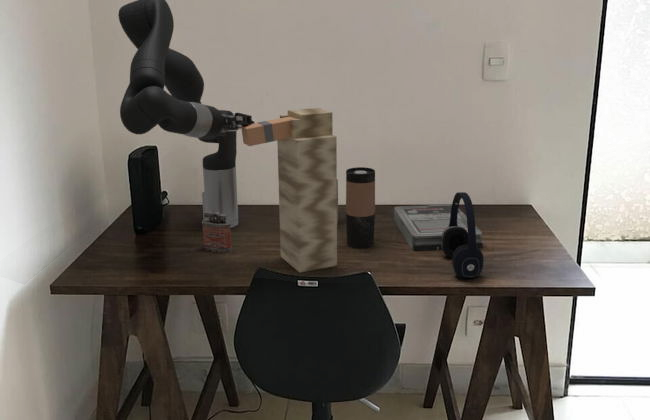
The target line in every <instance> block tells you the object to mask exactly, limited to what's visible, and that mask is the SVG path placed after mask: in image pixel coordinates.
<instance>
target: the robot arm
mask: <svg viewBox="0 0 650 420" xmlns="http://www.w3.org/2000/svg"><path fill="white" fill-rule="evenodd" d="M118 21H119V23H120V26H121V28H122V30H123V32H124V34H125V35H126V36H127V38H128V39H129V41H130V42H131V43H132V44H133V45H134V47H135V48H136V49H137V50H136V52H135V54H134V56H133V58H132V60H131V63H130V68H129V70H130V71H129V82H128V83H129V84H128V85H127V88H126V90H125V92H124V95H123V98H122V101H121V103H120V108H119V115H120V120H121V123H122V124H123V126H124V128H125V129H126V130H127V131H128V132H130V133H131V134H135V135H144V134H146V133H149V132H150V131H152V129H154V128H155V127H156V126H157V125H158V126H159V127H160V128H161V129H162V130H163V131H165V132H168V133H173V134H178V135H182V136H185V137H190V138H196V139H198V140H199V141H201V142H203V143H206V144H207V143H209V144H218V150H217V151H216V152H213V153H210V154H207V155H205V156H203V158H202V173H203V175H202V177H203V189H204V191H203V192H202V193H201V199H202V200H201V201H202V202H201V203H202V215H203V216H202V217H203V220H209V218H205V217H204V213H205V212H212V213H216V212H220V214H225V215H226V221H228V222H231V226H230V229H232V228H235V227H237V226H238V225H239V208H238V207H239V204H238V188H237V187H238V185H237V169H236V168H237V167H236V165H237V164H236V163H237V161H236V160H237V154H238V153H237V132H238V131H239V130H242V129H241V126H249V125H251V124H254V123H255V121H254V120H252V119H253V117H252V115H250V114H245V113H242V112H241V113H240V112H235V113H233V112H232V111H231V110H224V109H220V110H219V109H218V108H216V107H215V106H211V105H208V104H203V103H202V102H201V100H202V97H203V93H204V90H205V82H204V77H203V76H202V74H201V72H200V71H199V68H198V67H197V65H196V64H195V63H194V61H193V60H192V59H191V58H189V57H188V56H186V55H185V54H183V53H182V52H179V51H177V50H174V49H173V48H170V45H171V41H172V38H173V33H174V28H175V27H174V26H175V24H174V16H173V13H172V9H171V8H170V5H169V4H168V2H167V0H134V1H132V2H131V1H130V2H129V3H126V4H125V5H123V6H121V7H120V8H119V10H118ZM165 88H166V90H167V91H168V92H167V91H166V90H165ZM212 220H213V218H212Z"/></svg>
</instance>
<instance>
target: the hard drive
mask: <svg viewBox="0 0 650 420" xmlns="http://www.w3.org/2000/svg"><path fill="white" fill-rule="evenodd" d="M451 207H452V203H451V204H432V205H431V204H430V205H429V204H427V205H399V206H396V205H395V206H394V208H393V209H394V210H393V213H394V214H393V221H395V222H394V224H395V225H396V226H397V228H398V229H399V231H400V233H401V234H402V236H403V237H404V239H405V241H406V242H407V243H408V246H409V247H410V249H411V250H412V251H413V252H421V251H422V252H423V250H427V251H443V250H442V247H441V237H442V233H443V231H444V230H445V229H446V228H447V227H449V223H450V215H451ZM457 225H458V226H460V227H463V228H464V229H465V230H466V231H467V232H468V227H467V216H466V213H464V211H462V210H461V209H460V207H459V208H458V215H457ZM475 228H476V246H477V247H478V248H479V249H483V242H482V241H483V240H482V237H483V231H482V230H480V228H479V227H477V225H475Z"/></svg>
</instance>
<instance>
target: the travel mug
mask: <svg viewBox="0 0 650 420" xmlns="http://www.w3.org/2000/svg"><path fill="white" fill-rule="evenodd" d="M345 174H346V175H345V180H346V181H345V225H346V227H345V228H346V244H347V246H348V247H351V248H355V249H367V248H370V247H373V245H374V242H375V225H376V224H375V223H376V222H375V220H376V171H375V169H374V168H371V167H361V166H358V167H357V166H356V167H350V168H347V169H346V171H345Z"/></svg>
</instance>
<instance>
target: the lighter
mask: <svg viewBox="0 0 650 420" xmlns="http://www.w3.org/2000/svg"><path fill="white" fill-rule="evenodd" d="M204 217H205V218H209V220H204V219H203V220H201V225H202V238H203V245H202V247H203V248H202V249H203V250H204V249H205V251H209V250H211V251H210V252H216V251H217V253H231V252H232V251H233V246H232V234H231V228H230V226H231V222H228V221H226V215H225V214H220V212H216V213H212V212H205V213H204ZM212 218H213V220H212Z"/></svg>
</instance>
